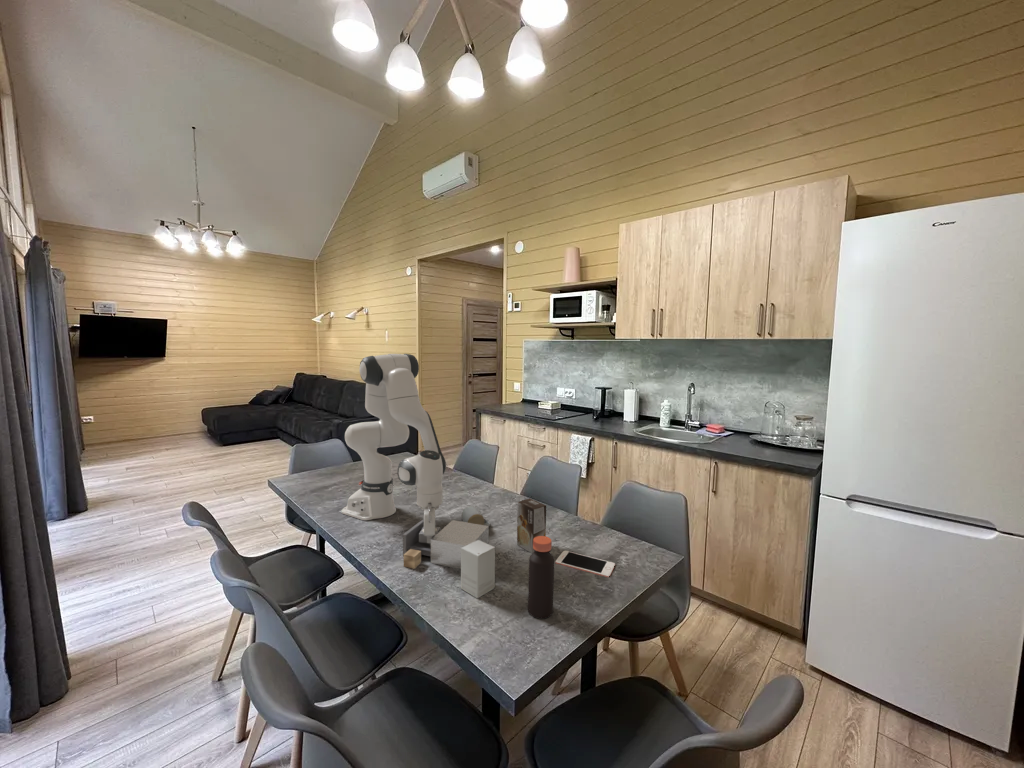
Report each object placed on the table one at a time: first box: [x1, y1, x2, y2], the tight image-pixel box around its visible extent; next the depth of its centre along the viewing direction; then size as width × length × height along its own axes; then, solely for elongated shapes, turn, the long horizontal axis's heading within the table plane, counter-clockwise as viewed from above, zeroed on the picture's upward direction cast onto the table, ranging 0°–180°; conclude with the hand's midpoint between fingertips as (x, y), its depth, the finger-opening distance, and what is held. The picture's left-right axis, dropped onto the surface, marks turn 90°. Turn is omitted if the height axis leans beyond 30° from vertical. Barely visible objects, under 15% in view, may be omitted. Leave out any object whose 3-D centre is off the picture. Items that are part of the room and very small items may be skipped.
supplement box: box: [460, 540, 496, 599], centre depth 121 cm, size 7×7×13 cm
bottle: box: [527, 535, 556, 619], centre depth 111 cm, size 7×7×20 cm
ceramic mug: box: [460, 505, 491, 527], centre depth 162 cm, size 11×8×8 cm
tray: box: [402, 518, 431, 558], centre depth 144 cm, size 15×16×8 cm
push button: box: [419, 526, 441, 543], centre depth 144 cm, size 6×6×3 cm
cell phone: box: [555, 550, 616, 578], centre depth 137 cm, size 9×18×1 cm, turn 63°
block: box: [403, 549, 422, 569], centre depth 134 cm, size 4×4×4 cm
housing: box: [430, 519, 490, 570], centre depth 140 cm, size 14×16×8 cm
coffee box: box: [516, 498, 547, 554], centre depth 147 cm, size 9×6×16 cm
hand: (429, 536), depth 144 cm, fingers closed on push button, 7 cm apart
